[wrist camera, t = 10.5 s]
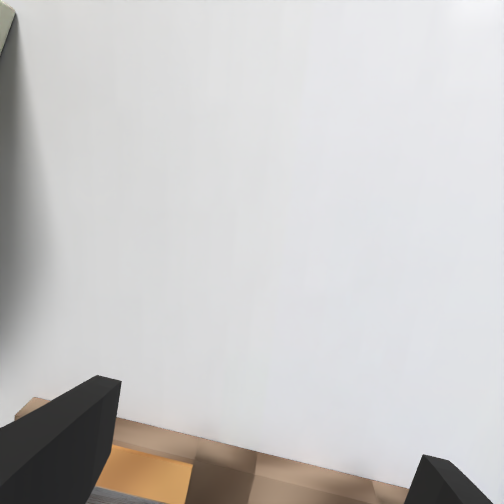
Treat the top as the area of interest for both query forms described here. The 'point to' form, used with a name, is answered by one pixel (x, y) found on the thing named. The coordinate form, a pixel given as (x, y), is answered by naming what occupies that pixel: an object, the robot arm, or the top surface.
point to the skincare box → (5, 21)
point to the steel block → (115, 498)
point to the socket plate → (221, 472)
